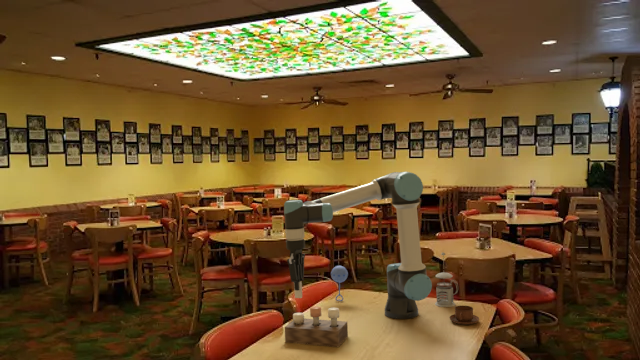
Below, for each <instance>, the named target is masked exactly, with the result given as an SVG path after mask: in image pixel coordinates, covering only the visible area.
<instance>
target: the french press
mask: <svg viewBox="0 0 640 360" xmlns="http://www.w3.org/2000/svg"><path fill="white" fill-rule="evenodd" d="M440 255H441V256H442V261H443V263H442V264H443V265H442V266H443V268H445V262H444V261H445V260H444V256H446V253H445V252H441V254H440ZM453 276H454V275H453V274H451V273H449V272H445V271H443V272H439V273H437V274H435V278H437V279H440V280H441V279H442V280H446V279H451V278H453ZM453 283H454V284H455V287H456V290H455V293H454V287H453ZM458 286H459V284H458V282H457V281H456V280H455V279H454V278H453V279H451V280H450V282H445V281H442V282H437V284H436V289H435V290H436V302H435V303H434V305H435V306H437V307H440V308H452V307H456V306H457V305H456V303H455V302H454V295H456V294H458V292H459V290H458Z"/></svg>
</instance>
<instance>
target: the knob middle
mask: <svg viewBox="0 0 640 360" xmlns="http://www.w3.org/2000/svg"><path fill="white" fill-rule="evenodd" d="M309 315H310V317H311V318H312V319H313V326H319V320H320V317H322V307H321V306H318V305H317V306H311V307H310V308H309Z"/></svg>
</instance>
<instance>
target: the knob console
mask: <svg viewBox="0 0 640 360" xmlns="http://www.w3.org/2000/svg"><path fill="white" fill-rule="evenodd" d="M348 329H349V328H348V321H342V320H337V327H331V319H330V320H329V319H319V326H313V318H305V317H304V322H303V323H302V324H296V323H294V322H293V320H292V321H290V322H289V323H288V324H287V325H285V326H284V341H285V343H289V344H300V345H301V344H303V345H310V346H311V345H313V346H320V347H323V346H324V347H330V348H331V347H333V348H340V346H341V345H342V344H343V343H344V342H345V341H346V340H347V338H348V337H349V331H348Z"/></svg>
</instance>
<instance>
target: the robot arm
mask: <svg viewBox="0 0 640 360" xmlns="http://www.w3.org/2000/svg"><path fill="white" fill-rule="evenodd" d="M423 191H424V184H423V182H422V179H421V178H420V177H419V176H418V175H417V174H416V173H413V172H410V171H400V172H399V171H394V172H390V173H387V174H386V175H383V176H380V177H377V178H374V179H372V180H371V182H369V183H365V184H363V185H359V186H356V187H352V188H350V189H346V190H343V191H340V192H337V193H334V194H331V195H327V196H324V197H321V198H318V199H315V200H311V201H309V200H308V201H304V202H303V200H300V199H299V200H298V199H296V200H295V199H294V200H292V199H291V200H286V201H285V202H283V203H284V204H283V205H284V206H283V208H284V209H283V214H284V225H285V227H284V228H285V229H284V234H285V239H286V240H285V244H286V245H285V248H286V250H288V251H289V258H287V260H286V262H287V265H288V270H289V271H288V272H289V276H290V281H291V283H293V287H294V288H293V290H294V299H302V298H303V283H302V282H303V281H305V279H304V278H305V277H304V276H305V257H306V254H305V253H303V249H305V248H306V240H305V236H306V235H305V224H312V223H314V224H315V223H326V222H331V221H332V220H333V218H334V213H336V212H339V211H342V210H346V209H349V208H352V207H355V206H358V205H361V204H365V203H368V202H370V201H374V200H377V201H382V200H385V199H391V205H392V206H393V207H394V208H395V210H396V219H397V229H398V231H397V232H398V242H399V250H400V251H399V252H400V262H398V263H391V264H387V267H386V279H387V281H386V282H387V283H386V284H387V285H386V286H387V299H386V303H385V306H384V315H385V316H386V317H387V318H391V319H396V320H397V319H398V320H405V319H406V320H407V319H413V318H416V317H418V316H419V308H418V305H417V302H419V301H422V300H424V299H426V298H428V296H429V295H430V294H431V291H432V288H433V283H432V280H431V278H430V277H429V276H428V275H427V274H428V273H427V266H426V265H425V264H424V263H423V262H422V261H423V260H422V251H421V239H420V238H421V237H420V230H419V229H420V228H419V227H420V226H419V219H418V209H417V208H418V206H419V204H420V203H421V199H420V197H421V195H422V194H423Z"/></svg>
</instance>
